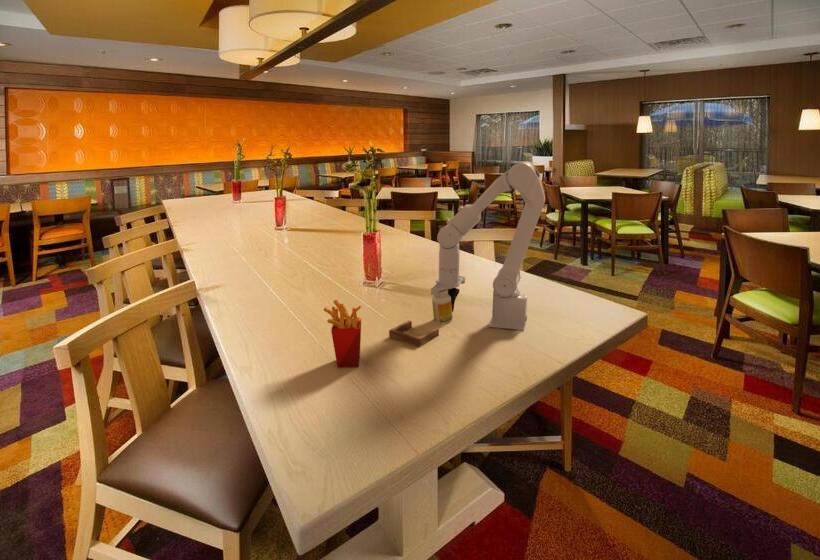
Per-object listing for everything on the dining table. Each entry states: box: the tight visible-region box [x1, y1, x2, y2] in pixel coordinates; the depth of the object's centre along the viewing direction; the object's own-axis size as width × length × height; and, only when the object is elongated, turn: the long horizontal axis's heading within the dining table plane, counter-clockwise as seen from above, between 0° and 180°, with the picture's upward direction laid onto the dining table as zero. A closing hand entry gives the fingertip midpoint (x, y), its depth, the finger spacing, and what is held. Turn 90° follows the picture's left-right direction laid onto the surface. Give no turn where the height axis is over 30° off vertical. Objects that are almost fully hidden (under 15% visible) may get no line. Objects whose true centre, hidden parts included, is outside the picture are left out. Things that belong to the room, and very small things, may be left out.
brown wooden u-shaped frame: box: [388, 320, 440, 347], centre depth 126 cm, size 8×10×2 cm
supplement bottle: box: [431, 289, 453, 324], centre depth 136 cm, size 5×5×10 cm
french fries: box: [323, 299, 362, 369], centre depth 110 cm, size 9×8×15 cm
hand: (448, 312), depth 139 cm, fingers closed, pressing on supplement bottle
